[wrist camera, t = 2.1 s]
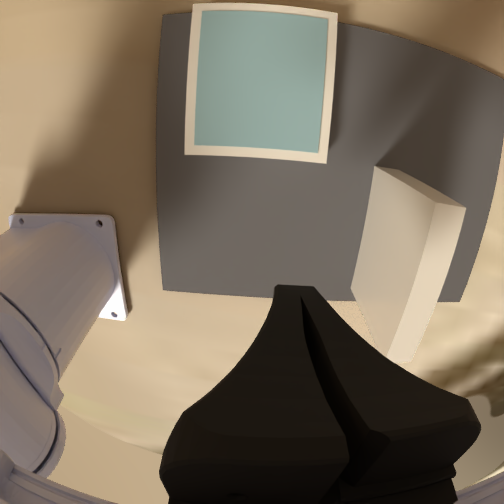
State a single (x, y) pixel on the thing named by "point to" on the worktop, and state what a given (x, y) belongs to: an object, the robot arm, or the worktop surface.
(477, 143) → the mat
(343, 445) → the robot arm
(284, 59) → the tile
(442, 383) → the worktop surface
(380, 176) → the tile
